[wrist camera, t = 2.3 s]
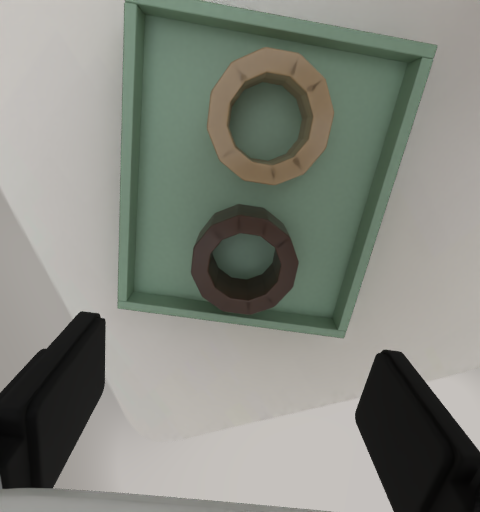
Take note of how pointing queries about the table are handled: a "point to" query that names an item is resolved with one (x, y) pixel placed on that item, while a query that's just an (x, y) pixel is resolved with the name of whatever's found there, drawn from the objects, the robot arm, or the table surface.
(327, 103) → the birch ring
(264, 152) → the tray
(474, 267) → the table surface
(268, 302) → the walnut ring
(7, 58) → the table surface
